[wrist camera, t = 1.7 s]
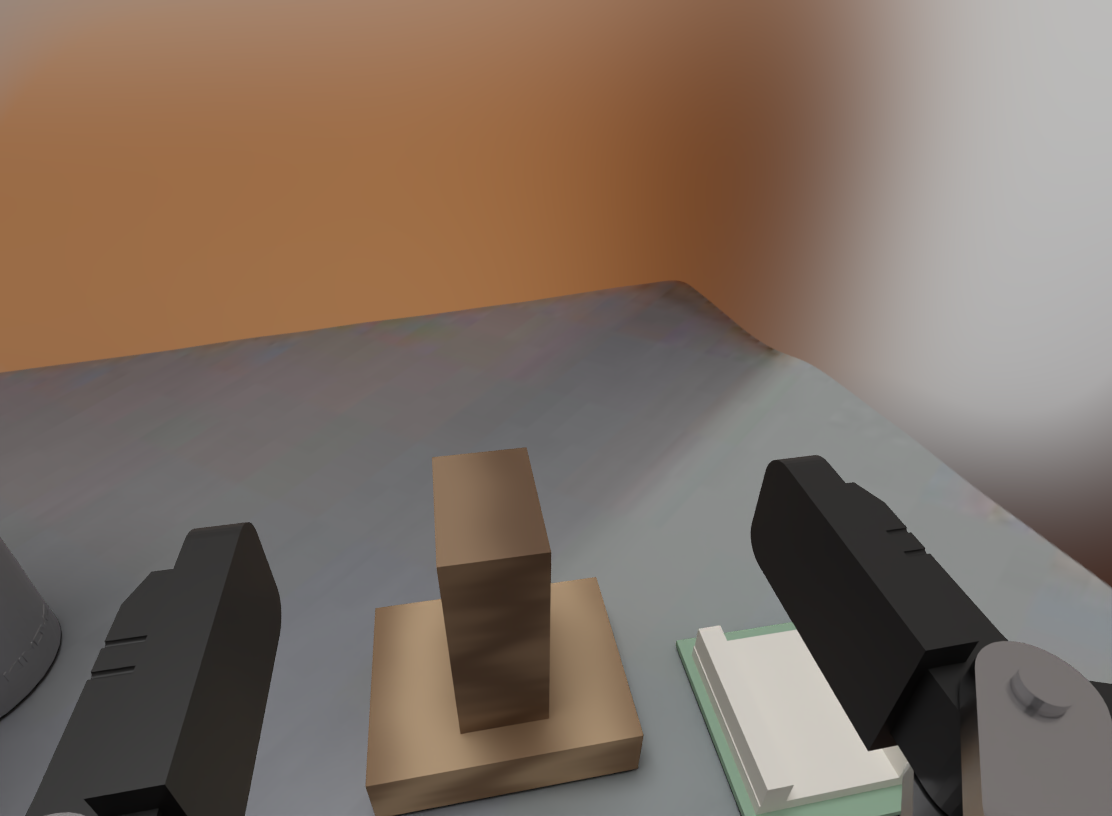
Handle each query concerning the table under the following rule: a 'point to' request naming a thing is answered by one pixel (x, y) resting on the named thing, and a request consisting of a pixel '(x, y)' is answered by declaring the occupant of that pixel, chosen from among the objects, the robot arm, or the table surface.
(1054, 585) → the table surface
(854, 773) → the rack
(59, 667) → the table surface
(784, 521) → the robot arm
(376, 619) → the flat wooden block
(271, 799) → the table surface
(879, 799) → the mat
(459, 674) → the tall wooden pillar
